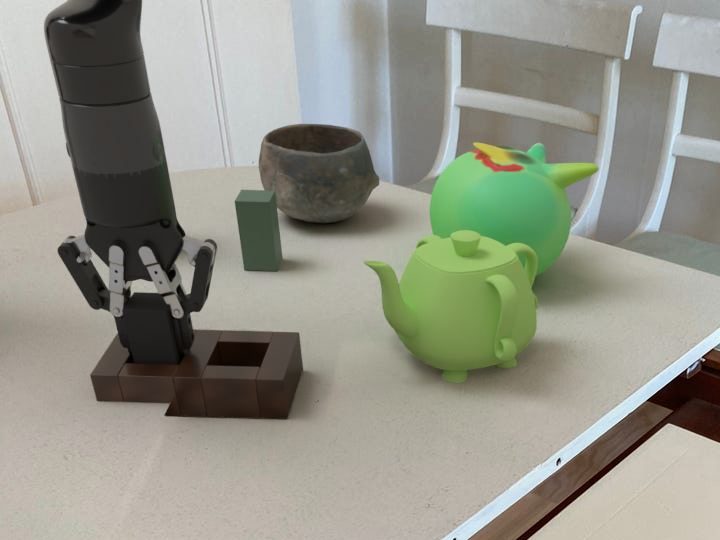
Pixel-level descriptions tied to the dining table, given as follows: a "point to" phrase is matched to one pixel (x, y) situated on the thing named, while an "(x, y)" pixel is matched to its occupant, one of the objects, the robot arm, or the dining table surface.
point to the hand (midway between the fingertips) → (159, 350)
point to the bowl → (317, 171)
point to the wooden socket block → (210, 376)
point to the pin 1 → (150, 330)
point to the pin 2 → (259, 230)
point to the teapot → (462, 302)
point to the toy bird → (508, 198)
